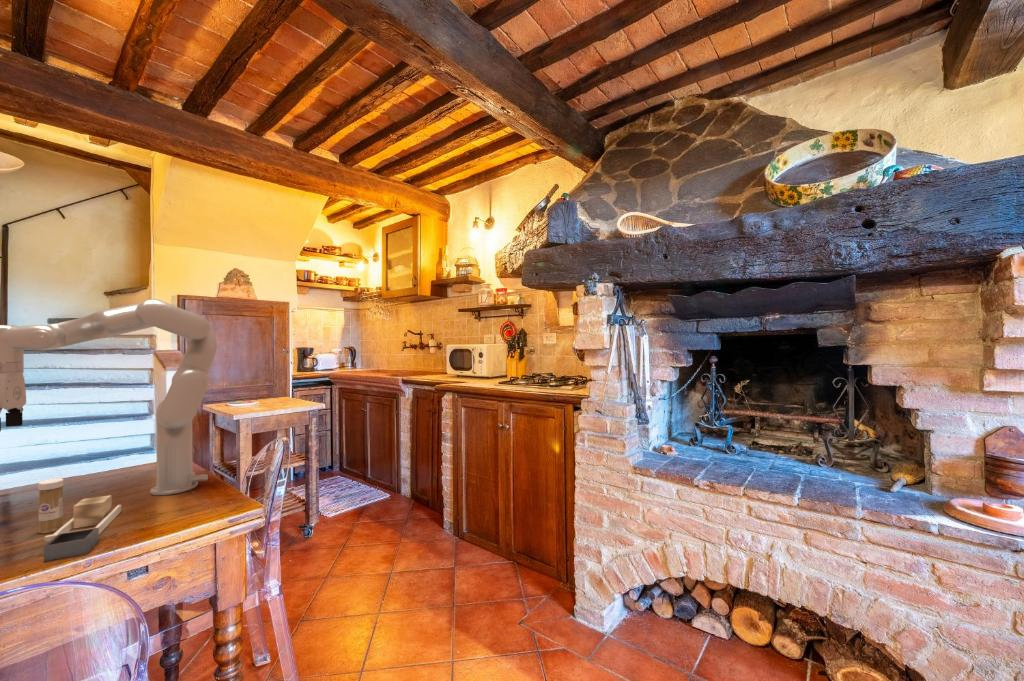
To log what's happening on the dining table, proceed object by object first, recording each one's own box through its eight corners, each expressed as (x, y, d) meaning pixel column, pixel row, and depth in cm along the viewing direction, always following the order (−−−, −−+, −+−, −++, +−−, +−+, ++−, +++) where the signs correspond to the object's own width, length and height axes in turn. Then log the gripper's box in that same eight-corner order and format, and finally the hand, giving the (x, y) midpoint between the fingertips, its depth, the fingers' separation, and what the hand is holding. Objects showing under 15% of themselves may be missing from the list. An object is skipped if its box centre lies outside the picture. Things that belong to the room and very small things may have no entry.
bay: (121, 511, 124) (121, 501, 124) (92, 541, 105) (92, 529, 105) (81, 517, 119) (81, 506, 119) (44, 549, 101) (44, 537, 101)
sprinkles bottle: (34, 535, 108) (34, 484, 108) (43, 528, 112) (43, 479, 112) (59, 531, 110) (59, 481, 110) (66, 525, 114) (66, 476, 114)
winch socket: (98, 541, 105) (98, 527, 105) (86, 553, 99) (86, 539, 99) (58, 548, 102) (58, 533, 102) (43, 561, 95) (43, 546, 95)
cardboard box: (111, 515, 120) (111, 494, 120) (103, 523, 115) (103, 502, 115) (82, 520, 117) (82, 498, 117) (73, 528, 112) (73, 506, 112)
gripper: (2, 370, 111) (2, 434, 111) (39, 366, 126) (39, 422, 126) (-40, 371, 107) (-39, 437, 107) (3, 367, 123) (3, 425, 123)
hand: (3, 429), depth 117 cm, fingers open, 9 cm apart
